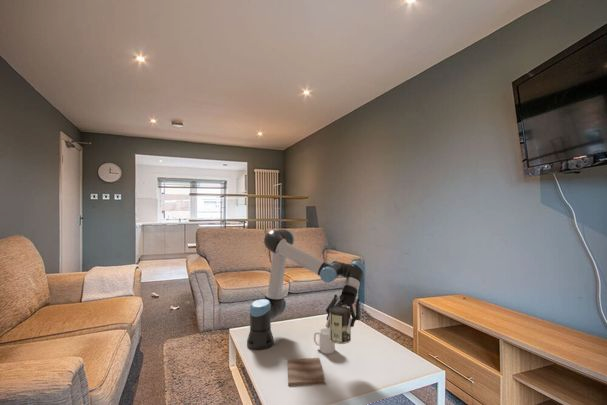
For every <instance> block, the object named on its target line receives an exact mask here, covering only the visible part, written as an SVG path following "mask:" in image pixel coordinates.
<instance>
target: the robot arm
mask: <svg viewBox="0 0 607 405" xmlns="http://www.w3.org/2000/svg"><path fill="white" fill-rule="evenodd" d="M294 242H295V236H294V234H293V233H292V231H291V230H289V229H286V228H281V229H274V230H273V229H272V230H270V231H268V232H267V233H266V234H265V235H264V239H263V244H264V246H265V248H266V250H269V251H270V252H271V253H272V256H271V263H270V264H271V265H270V273H269V281H268V287H267V288H268V291H267V292H265V295H264V299H263V298H261V299H256V300H253V302H252V303H251V304H250V307H249V332H248V337H247V340H246V346H247V347H248V348H249V349H251V350H254V351H255V350H257V351H259V350H262V351H263V350H266V349H269V348H271V347H272V346H274V343H275V340H274V339H275V338H274V335H273V331H272V330H271V329H272V328H271V327H272V326H271V325H272V324H271V322H272V321H273V320H274V319H275V318H277V317H279V316H281V315H282V314H283V313H284V311H285V310H286V308H287V303H286V302H287V300H286V299H285V295H284V293H283V287H284V280H285V272H286V265H287V264H286V263H287V260H290V261H292V262H293V263H295V264H297V265H299V266H301V267H303V268H304V269H306V270H308V271H310V272H311V273H314V274H316V275H317V276H319V277H320V279H321V281H323V282H324V283H326V284H327V283H332V282H334V281H335V280H336V279H337V278H339V277H341V278H346V279H345V282H344V284H343V288H342V290H341V294H340V295H337V294H334V296H333V298H332V300H331V301H330V303H329V304H328V306H327V307H326V309H325V311H326V314H327V316H326V323H325V328H327V329H330V312H329V309H330V308H331V307H335V306H343V307H346V306H347V307H348V308H349V309H350V310H351V318H350V320H349V323H348V327H347V330H346V332H347V333H348V334H350V330H352V328H353V327H354V326H355V322H356V321H360V320H361V317H360V316H361V312H360V311H361V303H362V302H361V300H360V298H357V296H358V291H359V289H360V285H361V282H362V279H363V277H364V273H365V269H366V266H365V264H364V263H363V262H362V261H359V260H354V261H352V262H351V263H346V262H342V261H338V260H329V262H325V261H323V260H321V259H319V258H318V257H316V256H314V255H312V254H310V253H308V252H306V251H305V250H302V249H300V248H299V247H296V246H295V245H294ZM354 303H355V311H354V306H353V304H354Z"/></svg>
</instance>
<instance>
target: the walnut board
mask: <svg viewBox="0 0 607 405" xmlns="http://www.w3.org/2000/svg"><path fill="white" fill-rule="evenodd" d="M286 360H287V384H288V385H287V386H306V385H325V384H326V380H325V376H324V372H323V369H322V367H323V366H322V364H321V360H320V357H309V358H307V357H306V358H287V359H286Z"/></svg>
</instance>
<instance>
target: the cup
mask: <svg viewBox="0 0 607 405" xmlns="http://www.w3.org/2000/svg"><path fill="white" fill-rule="evenodd" d="M317 335H318V337H319V341H317V339H316V338H317ZM329 338H330V328H329V329H327V327H325V328H321V329H320V330H319V331H316V332H315V331H314V334H313V342H314V344H315V345H317V346H319V351H320V352H321V353H322V354H326V355H329V354H333V353H335V351H336V345H335V344H336V343H333V342H331V341H330V339H329Z"/></svg>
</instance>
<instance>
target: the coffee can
mask: <svg viewBox="0 0 607 405" xmlns="http://www.w3.org/2000/svg"><path fill="white" fill-rule="evenodd" d="M334 306H335V305H334ZM329 312H330V327H329V329H330V338H329V339H330V341H331V342H333V343H335V344H338V345H345V344H349V343H350V342H351V341H352V338H351V335H352V334H351V330H352V329H351V330H350V334H348V333H347V332H346V330H347V327H348V323H349V320H350V318H352V315H351V310H350V307H348V306H347V307H346V306H344V305H343V306H335V307H331V308H330V309H329Z"/></svg>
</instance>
